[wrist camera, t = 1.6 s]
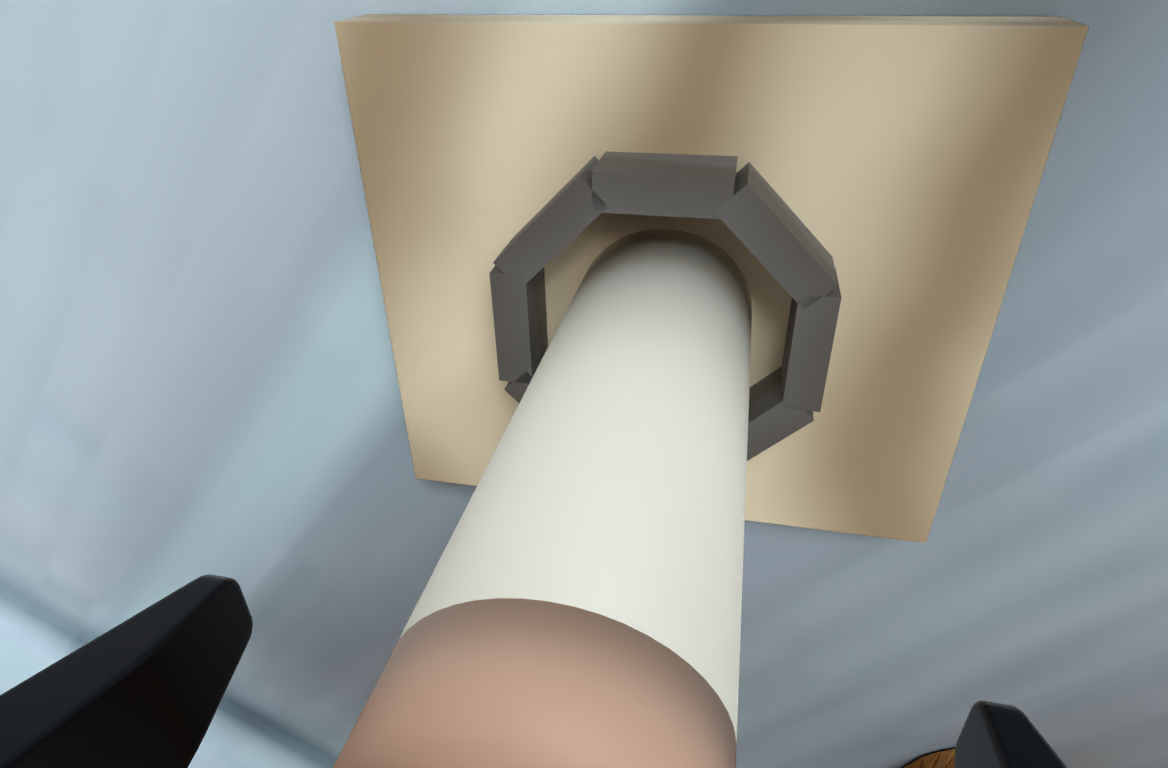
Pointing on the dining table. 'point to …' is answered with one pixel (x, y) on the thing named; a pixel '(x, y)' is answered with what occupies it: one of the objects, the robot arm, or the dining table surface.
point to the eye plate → (713, 218)
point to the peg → (594, 544)
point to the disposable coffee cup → (935, 760)
